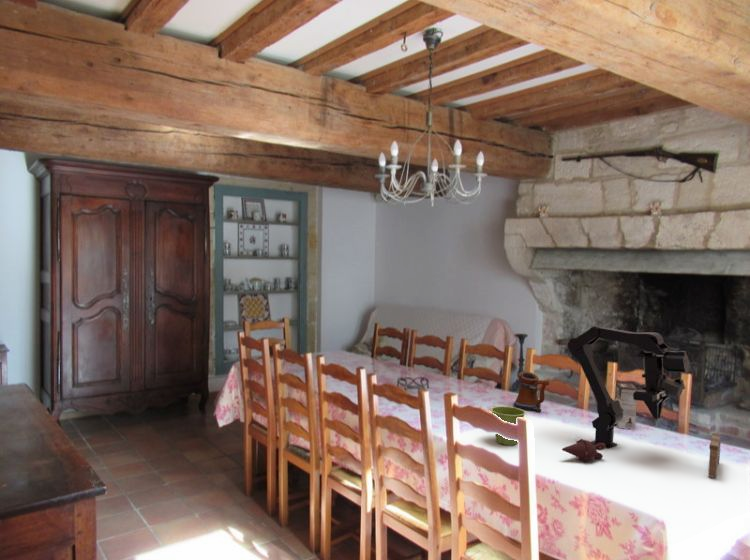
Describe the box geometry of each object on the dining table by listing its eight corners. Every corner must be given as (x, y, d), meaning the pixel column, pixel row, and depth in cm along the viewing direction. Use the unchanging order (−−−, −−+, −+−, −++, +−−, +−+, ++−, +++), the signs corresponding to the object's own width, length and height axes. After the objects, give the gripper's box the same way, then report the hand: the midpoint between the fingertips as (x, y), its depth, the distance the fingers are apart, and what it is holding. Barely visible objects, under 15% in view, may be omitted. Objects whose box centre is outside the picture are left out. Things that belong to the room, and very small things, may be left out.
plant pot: (531, 444, 195) (533, 412, 194) (507, 450, 188) (508, 417, 188) (506, 434, 204) (507, 404, 204) (482, 439, 198) (483, 408, 198)
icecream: (570, 446, 175) (613, 448, 178) (559, 433, 182) (601, 435, 185) (565, 465, 177) (607, 467, 180) (554, 451, 184) (595, 453, 187)
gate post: (717, 464, 181) (719, 435, 180) (709, 462, 183) (711, 433, 182) (720, 463, 182) (722, 434, 182) (712, 461, 184) (714, 432, 184)
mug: (557, 414, 234) (559, 378, 233) (535, 416, 229) (537, 380, 229) (529, 403, 250) (530, 369, 250) (507, 405, 246) (509, 371, 245)
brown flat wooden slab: (710, 462, 182) (712, 433, 181) (718, 463, 181) (720, 434, 180) (707, 475, 170) (709, 444, 169) (716, 477, 169) (718, 446, 168)
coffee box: (613, 421, 226) (615, 382, 225) (630, 423, 224) (632, 383, 224) (618, 428, 217) (620, 387, 216) (636, 430, 215) (638, 388, 215)
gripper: (666, 376, 173) (669, 427, 173) (691, 368, 185) (695, 416, 184) (630, 374, 182) (634, 422, 181) (657, 366, 193) (660, 412, 193)
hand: (657, 418), depth 185 cm, fingers closed
